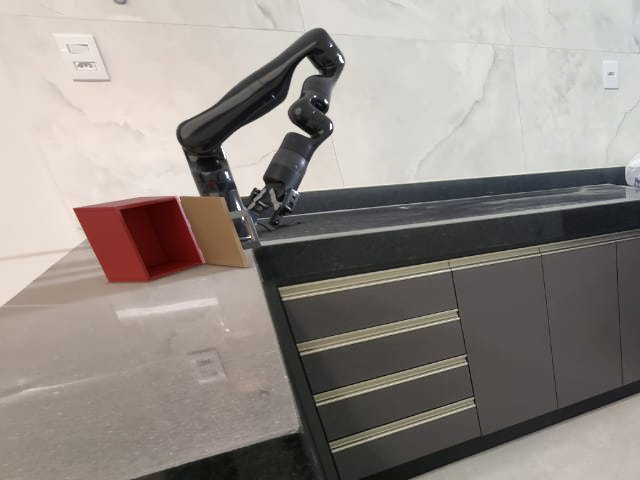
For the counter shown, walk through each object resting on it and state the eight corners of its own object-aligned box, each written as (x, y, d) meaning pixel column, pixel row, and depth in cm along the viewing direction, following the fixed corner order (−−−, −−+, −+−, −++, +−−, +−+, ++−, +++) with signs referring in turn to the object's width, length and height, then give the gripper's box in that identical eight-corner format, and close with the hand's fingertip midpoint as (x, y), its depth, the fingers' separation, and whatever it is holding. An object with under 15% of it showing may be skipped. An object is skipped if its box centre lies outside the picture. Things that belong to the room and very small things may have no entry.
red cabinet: (205, 263, 133) (177, 195, 126) (148, 281, 119) (114, 206, 112) (169, 264, 134) (139, 196, 127) (109, 282, 120) (72, 208, 113)
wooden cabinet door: (233, 256, 138) (208, 192, 131) (272, 260, 133) (249, 193, 126) (205, 263, 133) (178, 196, 126) (245, 267, 127) (219, 197, 120)
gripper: (318, 181, 137) (293, 234, 132) (279, 180, 142) (253, 233, 137) (293, 161, 130) (266, 217, 126) (253, 162, 135) (225, 216, 130)
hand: (259, 225), depth 131 cm, fingers open, 8 cm apart
